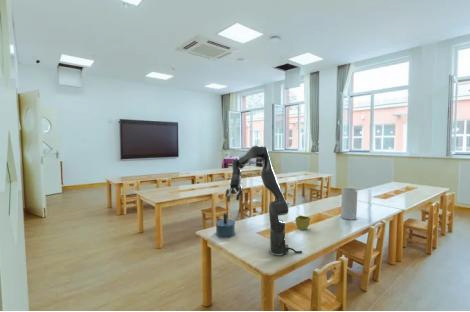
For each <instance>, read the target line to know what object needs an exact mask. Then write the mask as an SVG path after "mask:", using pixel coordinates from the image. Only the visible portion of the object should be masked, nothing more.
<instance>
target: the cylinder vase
mask: <svg viewBox="0 0 470 312" xmlns="http://www.w3.org/2000/svg"><path fill="white" fill-rule="evenodd" d="M340 201H341V202H340V217H341V219H345V220H349V221H351V220H356V219H357V214H358V213H357V212H358V189H357V188H351V187H343V188H341V199H340Z"/></svg>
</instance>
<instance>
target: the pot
mask: <svg viewBox="0 0 470 312" xmlns="http://www.w3.org/2000/svg"><path fill="white" fill-rule="evenodd" d="M235 225H236V223H235V224H234V225H233V226H230V227H220V226H217V225H216V224H215V235H216V236H217V237H218V238H225V239H226V238H227V239H228V238H231V237H233V236H235V232H236V231H235V229H236V228H235Z"/></svg>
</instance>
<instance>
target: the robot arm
mask: <svg viewBox="0 0 470 312" xmlns="http://www.w3.org/2000/svg"><path fill="white" fill-rule="evenodd" d="M252 159H260V160H261V161H262V169H261V172H260V176H261V181H262V184H263V185H264V187H265V189H267V190H268V191H269V192H270V193H271V194H272V195H273V196H274V198H275V200H273V201H270V202H269V205H268V216H269V219H268V220H269V226H270V227H269V253H270V254H272V255H273V256H275V257H276V256H278V257H281V256H285V255H286V253H289V250H291V251H293V252H294V253H296V254H300V253H303V251H302V250H295V248H292V247H289V244H286V221H284V220H283V219H280V218H279V217H280V216H285V215H288V213H289V204H288V202H287V200H286V199H285V196H284V194H283V192H282V190H281V187H280V185H279V182H278V179H277V176H276V173H275V171H274V168H273V166H272V162H271V158H270V155H269V151H268V148H267V147H266V145H263V144H261V145H257V144H256V145H255V144H254V145H252V146H251V147H250V148H249V150H248V151H246V153H245V154H243V155H241V156H240V157H239V158H237V157H234V158H233V159H232V161H231V168H232V173H231V178H230V185H229V188H226V191H225V197H226V202H228V203H230V202H231V197H232V196H233V195H236V196H235V200H236V201H237V202H238V201H239V200H240V197H241V195H243V190H244V188H243V187H242V186H241V180H242V170H241V169H244V168H245V166H246V165H248V164H249V163H250V162H251V161H252Z"/></svg>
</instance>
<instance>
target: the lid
mask: <svg viewBox="0 0 470 312" xmlns="http://www.w3.org/2000/svg"><path fill="white" fill-rule="evenodd" d="M234 224H235V225H236V221H235V220H233V219H228V213H227V212H223V218H222V219H219V220H217V221H216V222H215V226H216V225H217V226H220V227H230V226H233V225H234Z"/></svg>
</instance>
